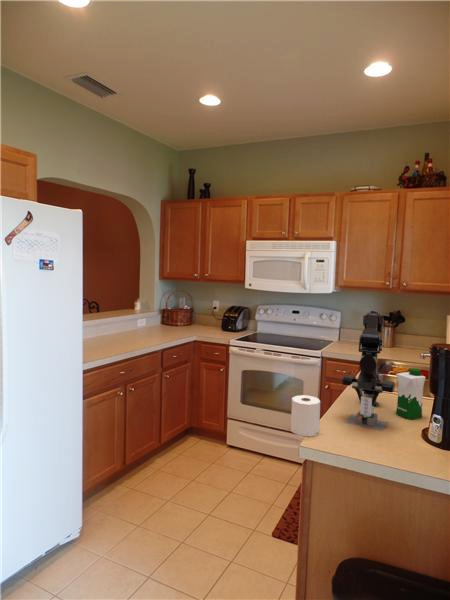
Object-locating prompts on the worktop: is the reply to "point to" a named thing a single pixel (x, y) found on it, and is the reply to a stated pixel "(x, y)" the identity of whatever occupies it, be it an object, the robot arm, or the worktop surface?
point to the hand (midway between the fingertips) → (367, 404)
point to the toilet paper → (305, 415)
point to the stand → (367, 421)
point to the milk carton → (410, 394)
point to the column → (366, 405)
